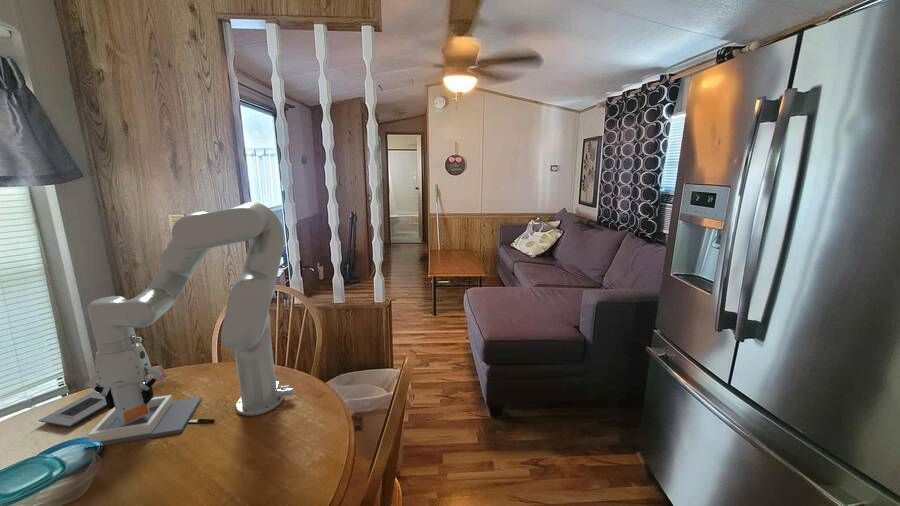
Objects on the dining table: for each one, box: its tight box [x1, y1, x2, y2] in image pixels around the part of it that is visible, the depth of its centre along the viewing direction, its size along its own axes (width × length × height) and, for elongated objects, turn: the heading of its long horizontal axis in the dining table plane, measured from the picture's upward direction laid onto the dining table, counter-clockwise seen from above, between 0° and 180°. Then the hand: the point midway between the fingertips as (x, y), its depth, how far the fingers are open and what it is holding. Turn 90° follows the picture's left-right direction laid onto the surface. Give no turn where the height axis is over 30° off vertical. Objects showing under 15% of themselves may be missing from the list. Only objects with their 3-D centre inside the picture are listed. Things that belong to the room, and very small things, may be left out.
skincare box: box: [110, 382, 150, 425], centre depth 97 cm, size 6×4×12 cm
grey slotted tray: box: [38, 390, 108, 427], centre depth 103 cm, size 13×10×2 cm
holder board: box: [87, 394, 202, 446], centre depth 99 cm, size 21×14×4 cm, turn 106°
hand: (131, 403), depth 97 cm, fingers closed on skincare box, 7 cm apart
